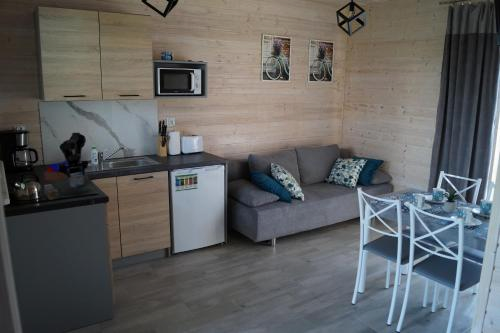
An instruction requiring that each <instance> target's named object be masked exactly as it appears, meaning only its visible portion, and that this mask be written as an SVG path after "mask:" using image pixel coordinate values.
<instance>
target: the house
mask: <svg viewBox="0 0 500 333" xmlns="http://www.w3.org/2000/svg"><path fill="white" fill-rule="evenodd" d="M62 163H65V165H68V164H67V163H66V160H65V161H61V162H59V163H53V164H51V165H49V166H47V168H45V170H44V171H43V172H44V173H43V174H44V180H45V181H55V182H56V181H61V180H64V179H66V178H69V177H68V176H66V175H65V174H64V173H61V172H58V170H57V167H58V164H62ZM69 170H70V168H67V171H68V173H69Z"/></svg>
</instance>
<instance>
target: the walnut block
mask: <svg viewBox="0 0 500 333" xmlns="http://www.w3.org/2000/svg"><path fill="white" fill-rule="evenodd" d="M59 197H60V195H59V190H57V189H56V188H54V190H49V191H48V197H47V198H48V199H49V200H50V201H52V200H57V199H59Z"/></svg>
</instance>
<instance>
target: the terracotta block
mask: <svg viewBox="0 0 500 333" xmlns="http://www.w3.org/2000/svg"><path fill="white" fill-rule="evenodd" d="M48 186H53V185H52V184H51V183H49V184H44V188H45V187H48ZM44 194H45V195H46V191H45V190H44Z"/></svg>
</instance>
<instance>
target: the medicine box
mask: <svg viewBox="0 0 500 333" xmlns="http://www.w3.org/2000/svg"><path fill="white" fill-rule="evenodd" d="M69 175H70V178H69V177H68V180H69V187H71V188H78V187H81V186H82V185H83V186H84V185H85V182H84V181H85V180H84V177H83V172H76V173H72V174H69ZM83 186H82V187H83Z"/></svg>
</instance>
